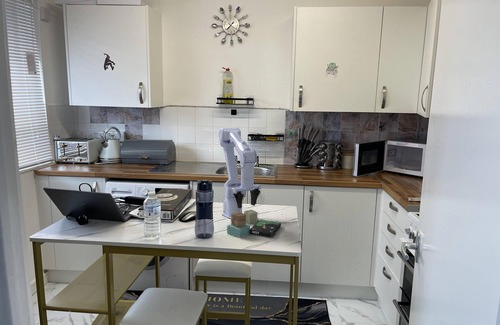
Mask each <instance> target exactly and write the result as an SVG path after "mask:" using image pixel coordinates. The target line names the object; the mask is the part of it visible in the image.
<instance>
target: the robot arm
mask: <svg viewBox="0 0 500 325" xmlns="http://www.w3.org/2000/svg"><path fill="white" fill-rule="evenodd" d="M218 139H219V140H218V141H219V145H220V147H222V148H223V153H224V158H225V165H226V171H227V178H228V180H226V182H225V183H224V184H223V190H224V191H223V194H224V198H225V199H224V200H223V207H222V208H223V210H222V212H223V213H221V215H222V216H223V217H226V218H228V219H230V220H231V213H236V212H242V213H243V202H244V199H245V197H246V196H247V192H250V205H251V206H253V207H254V206H256V203H257V200H258V198H259V196H260V194H261V192H262V191H261V190H262V185H261V184H254V183H255V182H254V181H255V164H256V163H257V160H258V156H257V152H256V150H255V149H251V148H250V146H249V144H247V142H246V141H244V140H243V139H242V132H241V129H240V127H234V128H233V127H220V129H219V131H218ZM235 151H236V152H237V154H238V155H239V162H240V163H239V164H240V165H239V166H240V178H239V174H238V167H237V161H236V155H235Z"/></svg>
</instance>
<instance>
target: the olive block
mask: <svg viewBox="0 0 500 325" xmlns="http://www.w3.org/2000/svg"><path fill="white" fill-rule="evenodd" d="M243 213H244V214H246V224H248V225H250V224H256V223H257V222H258V213H259V212H258V211H256V210H253V209H248V210H244V211H243Z"/></svg>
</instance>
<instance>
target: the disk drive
mask: <svg viewBox="0 0 500 325" xmlns="http://www.w3.org/2000/svg"><path fill="white" fill-rule="evenodd" d="M281 228H282V222H280V221H279V222H278V221H272V220H270V221H269V220H264V219H260V220H257V222H256V223H254V225H253V226H251V227H250V232H249V234H248V235H250V236H251V235H252V236H258V237H263V238H270V239H272V238H273V237H274V236H275V235H276V234H277V232H278V231H279V230H280V229H281Z"/></svg>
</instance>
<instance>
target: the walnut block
mask: <svg viewBox="0 0 500 325" xmlns="http://www.w3.org/2000/svg"><path fill="white" fill-rule="evenodd" d="M230 224H231V225H233V226H235V227H236V228H238V227H242V226H246V224H247V222H246V214H244V212H243V211H242V212H236V213H231V219H230Z"/></svg>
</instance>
